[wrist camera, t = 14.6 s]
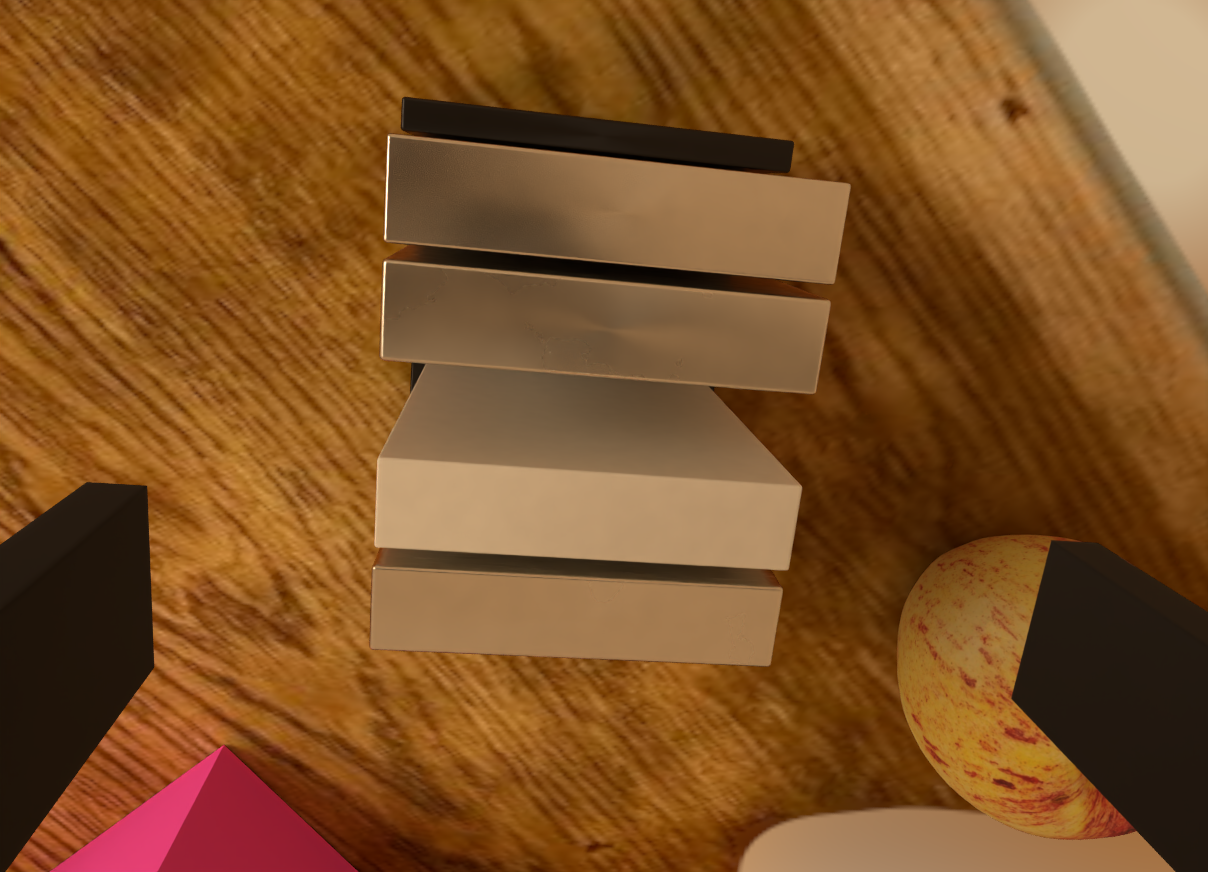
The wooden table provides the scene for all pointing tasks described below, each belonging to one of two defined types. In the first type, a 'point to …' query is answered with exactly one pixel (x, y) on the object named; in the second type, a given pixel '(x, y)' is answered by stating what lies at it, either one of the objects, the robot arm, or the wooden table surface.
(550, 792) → the wooden table surface
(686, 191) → the black book rack
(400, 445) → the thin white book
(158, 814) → the bracket
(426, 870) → the wooden table surface
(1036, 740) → the apple
